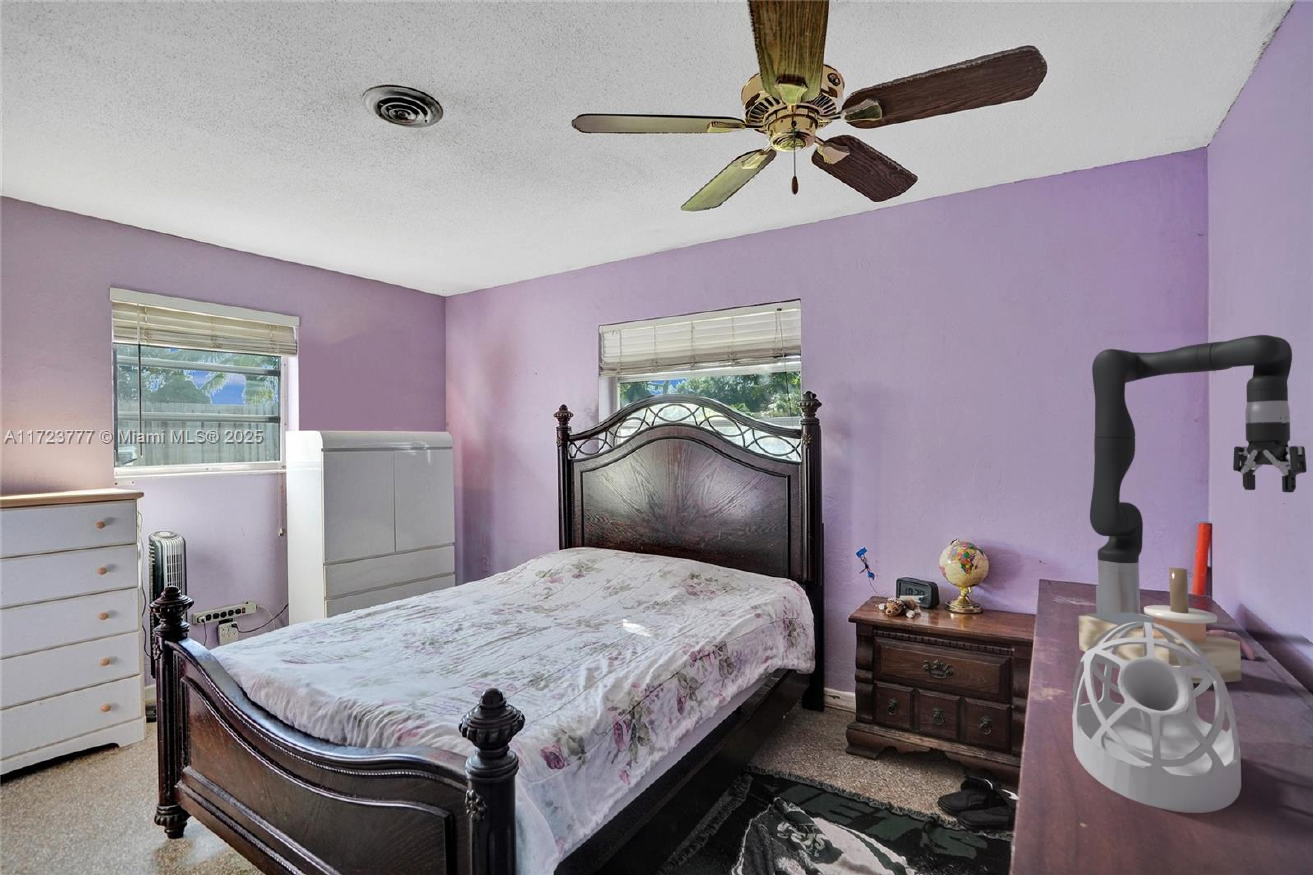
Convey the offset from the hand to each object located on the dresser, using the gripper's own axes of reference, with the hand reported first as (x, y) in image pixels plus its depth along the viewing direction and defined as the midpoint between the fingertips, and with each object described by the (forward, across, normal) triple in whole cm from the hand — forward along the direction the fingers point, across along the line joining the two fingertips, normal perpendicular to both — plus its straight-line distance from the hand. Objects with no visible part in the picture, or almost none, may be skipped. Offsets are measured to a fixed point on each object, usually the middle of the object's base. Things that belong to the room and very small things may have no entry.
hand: (1268, 491), depth 150 cm
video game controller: (+38, 0, -12) cm, 40 cm away
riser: (+38, +3, -33) cm, 50 cm away
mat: (+30, -3, -33) cm, 44 cm away
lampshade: (+38, +47, -74) cm, 96 cm away
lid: (+26, +10, -33) cm, 43 cm away
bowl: (+30, +10, -33) cm, 45 cm away
